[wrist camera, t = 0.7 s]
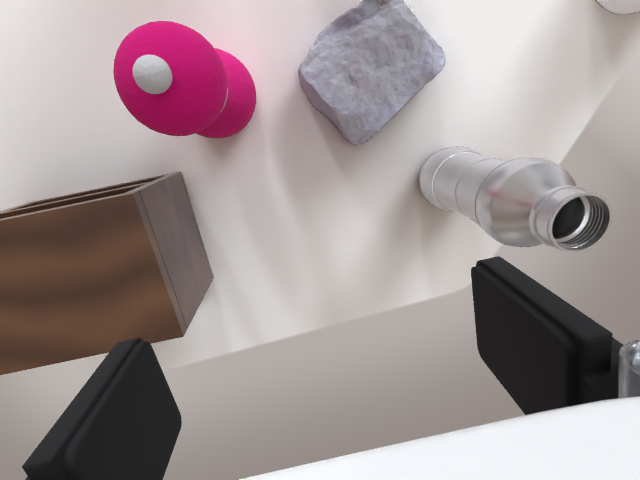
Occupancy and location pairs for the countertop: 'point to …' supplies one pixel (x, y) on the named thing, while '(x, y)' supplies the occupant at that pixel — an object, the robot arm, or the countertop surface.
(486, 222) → the silver metal bottle
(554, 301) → the robot arm
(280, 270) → the countertop surface
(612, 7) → the base with upright slab
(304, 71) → the stone block
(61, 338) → the shelf
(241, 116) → the pepper mill
